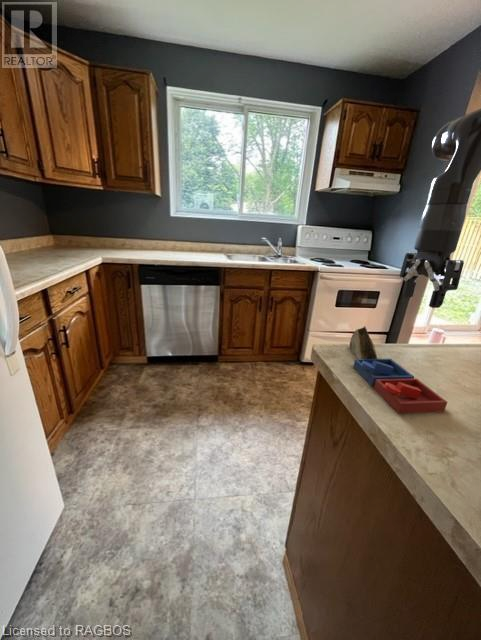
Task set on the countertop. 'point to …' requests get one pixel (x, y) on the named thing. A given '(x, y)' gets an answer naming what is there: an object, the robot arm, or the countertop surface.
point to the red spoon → (403, 390)
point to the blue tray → (372, 376)
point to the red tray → (404, 404)
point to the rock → (362, 344)
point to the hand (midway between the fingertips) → (419, 301)
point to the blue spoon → (378, 367)
